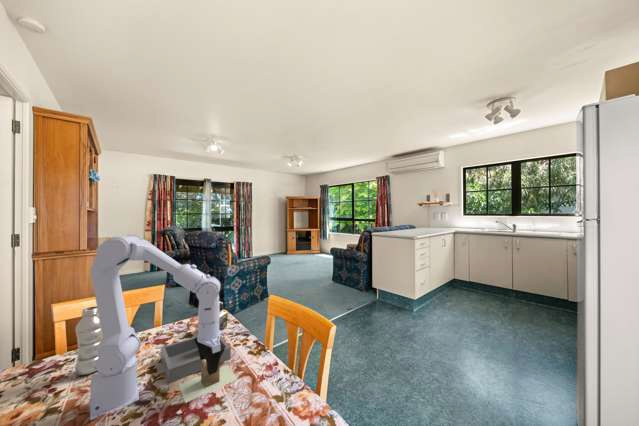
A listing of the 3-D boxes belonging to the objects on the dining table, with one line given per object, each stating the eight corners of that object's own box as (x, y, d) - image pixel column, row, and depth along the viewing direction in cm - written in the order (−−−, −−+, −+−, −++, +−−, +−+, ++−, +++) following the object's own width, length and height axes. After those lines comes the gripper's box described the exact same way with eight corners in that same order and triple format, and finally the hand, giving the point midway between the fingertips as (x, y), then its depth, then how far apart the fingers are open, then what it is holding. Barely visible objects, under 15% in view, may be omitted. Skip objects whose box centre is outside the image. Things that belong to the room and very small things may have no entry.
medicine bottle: (217, 335, 98) (217, 306, 99) (202, 334, 100) (202, 305, 100) (227, 327, 105) (227, 300, 106) (213, 326, 107) (213, 299, 107)
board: (185, 405, 62) (185, 402, 62) (178, 386, 69) (178, 384, 69) (238, 380, 71) (238, 378, 71) (227, 366, 78) (227, 364, 78)
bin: (168, 385, 69) (168, 369, 69) (160, 360, 81) (160, 347, 81) (230, 360, 81) (230, 347, 81) (215, 342, 93) (215, 330, 93)
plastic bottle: (105, 371, 76) (106, 308, 76) (74, 381, 71) (75, 314, 71) (103, 362, 80) (103, 303, 81) (74, 372, 75) (75, 308, 76)
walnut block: (204, 387, 67) (205, 366, 67) (201, 380, 70) (201, 359, 70) (219, 381, 70) (219, 360, 70) (215, 374, 73) (215, 354, 73)
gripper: (231, 324, 67) (231, 373, 67) (215, 309, 78) (214, 351, 78) (204, 332, 63) (204, 384, 62) (191, 315, 74) (191, 359, 73)
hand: (208, 366), depth 70 cm, fingers open, 7 cm apart
